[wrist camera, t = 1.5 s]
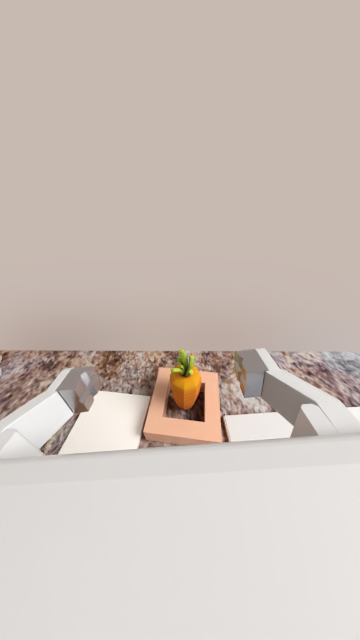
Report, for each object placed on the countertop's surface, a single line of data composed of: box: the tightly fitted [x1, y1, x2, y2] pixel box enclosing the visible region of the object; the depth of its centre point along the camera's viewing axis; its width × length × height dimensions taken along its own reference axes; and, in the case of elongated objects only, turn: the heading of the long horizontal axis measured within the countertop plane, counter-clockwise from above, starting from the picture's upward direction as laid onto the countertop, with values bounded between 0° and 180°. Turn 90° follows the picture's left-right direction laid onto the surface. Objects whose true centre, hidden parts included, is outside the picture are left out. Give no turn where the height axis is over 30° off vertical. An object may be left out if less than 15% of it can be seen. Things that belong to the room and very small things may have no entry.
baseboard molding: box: [223, 407, 360, 442], centre depth 26 cm, size 31×3×12 cm
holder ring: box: [143, 368, 222, 445], centre depth 31 cm, size 12×12×4 cm
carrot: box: [170, 349, 202, 410], centre depth 28 cm, size 5×5×15 cm
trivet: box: [58, 391, 151, 455], centre depth 30 cm, size 12×12×1 cm
